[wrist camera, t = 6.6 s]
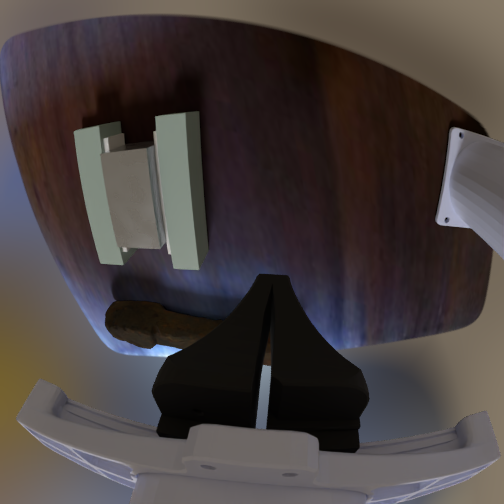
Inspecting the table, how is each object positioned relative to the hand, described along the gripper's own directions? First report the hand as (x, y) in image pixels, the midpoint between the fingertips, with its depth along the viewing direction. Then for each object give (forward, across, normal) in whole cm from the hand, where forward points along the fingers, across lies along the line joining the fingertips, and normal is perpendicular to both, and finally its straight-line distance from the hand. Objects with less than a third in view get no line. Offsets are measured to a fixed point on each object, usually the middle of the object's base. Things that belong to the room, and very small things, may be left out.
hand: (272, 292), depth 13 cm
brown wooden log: (+10, +7, +12) cm, 17 cm away
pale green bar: (+10, +13, -2) cm, 16 cm away
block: (+10, +10, -2) cm, 14 cm away
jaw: (+10, +7, -2) cm, 12 cm away
